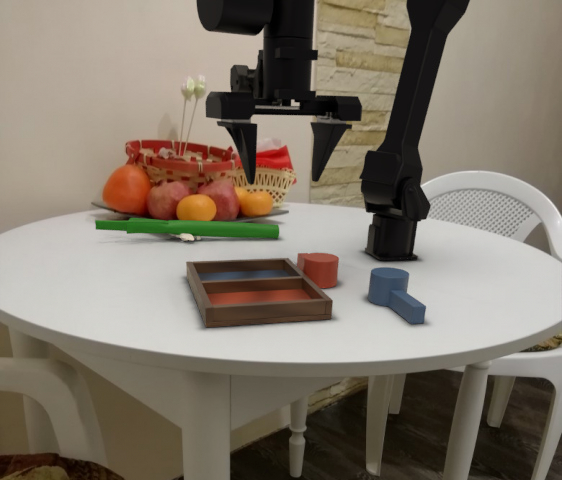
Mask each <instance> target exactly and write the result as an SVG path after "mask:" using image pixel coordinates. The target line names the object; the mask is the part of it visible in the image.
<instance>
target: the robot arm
mask: <svg viewBox="0 0 562 480" xmlns="http://www.w3.org/2000/svg"><path fill="white" fill-rule="evenodd" d="M195 2H196V12H197V16H198V19H199V23H200V25H201V26H202V28H203V29H204V30H205V31H207V32H211V33H220V34H230V35H231V34H232V35H239V36H248V37H256V36H257V35H260V34H261V32H262V49H258V54H257V63H256V66H255V68H249V66H248V65H246V64H233V65H232V66H231V68H230V71H229V72H230V73H229V75H230V76H229V86H230V87H229V88H230V91H213V90H212V91H209V93H208V94H207V96H206V99H205V118H209V119H215V120H216V125H217V126H218V127H223V128H225V130H226V131H227V133H228V134H229V136H230V137H231V140H232V141H233V143H234V147H235V148H236V151H237V154H238V157H239V159H240V163H241V166H242V169H243V172H244V175H245V179H246V182H247V184H249V185H254V184H255V180H256V173H257V149H258V148H257V145H258V123H253V122H252V117H253V116H301V117H303V116H304V117H305V116H306V117H307V116H309V117H315V118H316V121H310V122H309V125H310V128H311V131H312V134H313V142H312V143H313V145H312V155H311V156H312V157H311V181H312V182H315V183H319V181H320V179H321V178H322V174H323V173H324V170H325V169H326V167H327V164H328V163H329V160H331V157H332V155H333V153H334V151H335V149H336V147H337V146H338V144H339V142H340V141H341V139H342V137H343V136H344V134H345V132H346V131H347V130H352V129H353V124H351V123H350V124H349V123H347V122H362V116H363V105H362V102H361V100H360V97H359V96H358V95H357V96H355V95H354V96H353V95H331V94H330V95H328V94H327V95H325V94H324V95H322V94H317V90H311V89H312V71H313V70H312V69H313V68H312V65H313V61H318V60H319V59H318V58H319V50H318V49H313V46H314V27H315V25H314V23H315V5H316V4H315V2H316V0H195ZM470 2H471V0H406V3H405V7H406V12H407V17H408V21H409V25H410V33H409V38H408V42H407V45H406V49H405V54H404V58H403V61H402V65H401V70H400V75H399V78H398V83H397V87H396V91H395V95H394V99H393V103H392V106H391V111H390V114H389V119H388V123H387V127H386V131H385V134H384V135H385V136H384V138H383V141H382V143H381V144H380V145H379V146H378V147H377V149H376V150H373V149H372V150H371V149H368V150H367V151H366V153H365V155H364V162H363V168H362V170H361V173H360V175H359V177H358V179H359V180H361V181H360V182H361V183H360V193H361V194H362V196H363V202H364V208H365V209H364V210H365V212H366V213H368V214H372V221H371V223H370V224H369V225H368V229H367V231H368V232H367V241H366V247H365V248H364V252H366V253H367V254H369V255H370V256H372V257H374V258H375V259H376V260H379V261H407V260H418V259H419V256H418V255H417V254H415V253H414V250H415V244H416V236H417V229H418V223H419V222H422V221H423V220H427V218H428V215H429V213H430V210H431V208H432V204H431V203H430V201H429V198H428V197H427V195H426V194H425V192H424V189H423V187H422V185H421V183H422V177H423V171H424V168H423V167H424V166H423V163H422V159H421V153H420V149H419V144H420V141H421V138H422V137H421V136H422V133H423V130H424V126H425V121H426V118H427V114H428V111H429V108H430V103H431V99H432V95H433V92H434V88H435V84H436V80H437V76H438V73H439V69H440V65H441V62H442V57H443V54H444V50H445V46H446V42H447V39H448V36H449V34H450V33H451V32H452V30H453V29H454V28H455V27H456V26H457V24H458V23H459V22H460V21H461V19H462V18H463V17H464V16H465V14H466V12H467V9H468V7H469V4H470ZM292 101H293V102H294V103H299V105H292Z"/></svg>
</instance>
